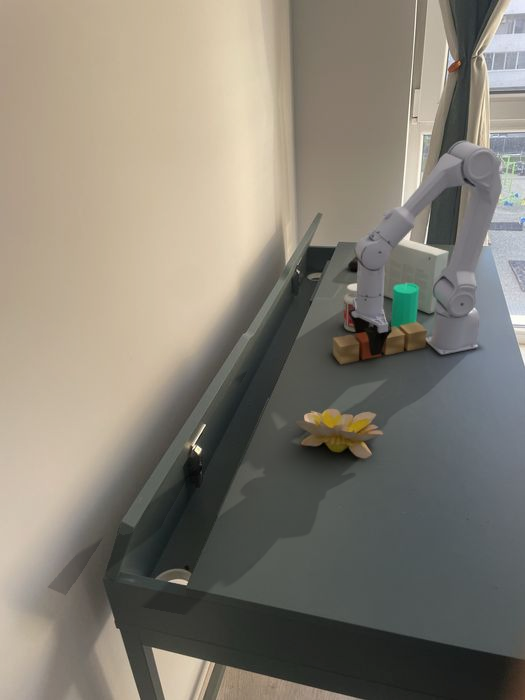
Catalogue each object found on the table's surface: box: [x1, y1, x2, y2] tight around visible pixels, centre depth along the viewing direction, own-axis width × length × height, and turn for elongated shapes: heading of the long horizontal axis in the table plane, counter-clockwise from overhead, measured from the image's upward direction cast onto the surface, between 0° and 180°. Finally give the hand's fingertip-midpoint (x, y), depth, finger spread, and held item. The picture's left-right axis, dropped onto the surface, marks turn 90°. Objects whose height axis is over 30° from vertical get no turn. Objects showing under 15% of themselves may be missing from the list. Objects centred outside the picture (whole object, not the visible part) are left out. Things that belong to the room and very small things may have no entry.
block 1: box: [332, 334, 360, 365], centre depth 120 cm, size 4×4×4 cm
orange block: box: [354, 332, 382, 361], centre depth 121 cm, size 4×4×4 cm
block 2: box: [381, 326, 405, 356], centre depth 122 cm, size 4×4×4 cm
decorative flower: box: [293, 408, 384, 459], centre depth 93 cm, size 15×11×10 cm
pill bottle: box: [343, 282, 357, 333], centre depth 131 cm, size 6×6×11 cm
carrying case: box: [347, 256, 359, 272], centre depth 166 cm, size 11×3×15 cm
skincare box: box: [383, 238, 449, 315], centre depth 141 cm, size 21×5×16 cm, turn 34°
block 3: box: [399, 321, 428, 351], centre depth 123 cm, size 4×4×4 cm
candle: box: [390, 282, 419, 329], centre depth 129 cm, size 6×6×12 cm
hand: (368, 346), depth 121 cm, fingers open, 7 cm apart
